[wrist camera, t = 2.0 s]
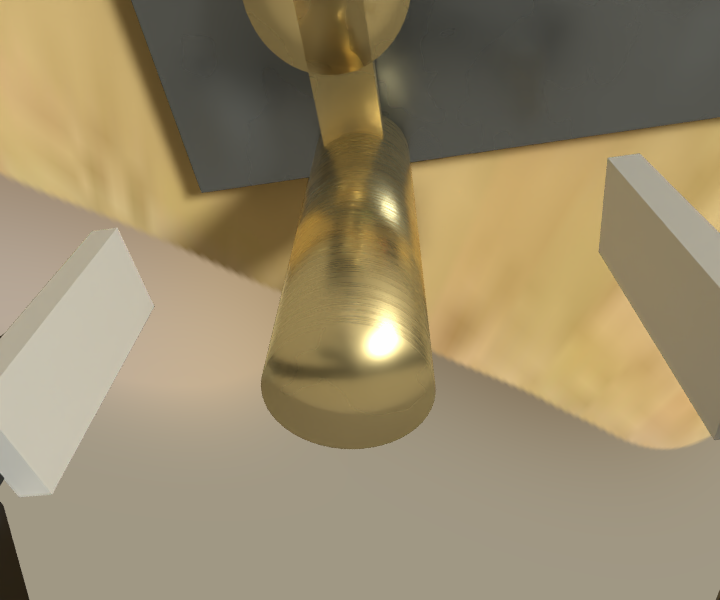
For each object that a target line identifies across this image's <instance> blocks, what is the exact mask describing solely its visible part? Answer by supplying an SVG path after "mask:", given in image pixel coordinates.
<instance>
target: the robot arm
mask: <svg viewBox="0 0 720 600" xmlns="http://www.w3.org/2000/svg"><path fill="white" fill-rule="evenodd" d="M599 253H600V255H601V256H602V258H603V260H604V261H605V263H606V265H607V266H608V268H609V269H610V271H611V273H612V274H613V276H614V278H615V279H616V281H617V282H618V284H619V286H620V287H621V289H622V291H623V292H624V294H625V296H626V297H627V299H628V300H629V302H630V304H631V305H632V307H633V309H634V310H635V312H636V313H637V315H638V317H639V318H640V320H641V322H642V323H643V325H644V327H645V328H646V330H647V331H648V333H649V335H650V336H651V338H652V340H653V341H654V343H655V344H656V346H657V348H658V349H659V351H660V353H661V354H662V356H663V358H664V359H665V361H666V362H667V364H668V366H669V367H670V369H671V371H672V372H673V374H674V375H675V377H676V379H677V380H678V382H679V384H680V385H681V387H682V389H683V390H684V392H685V393H686V395H687V397H688V398H689V400H690V402H691V403H692V405H693V406H694V408H695V410H696V411H697V413H698V415H699V416H700V418H701V419H702V421H703V423H704V424H705V426H706V428H707V429H708V431H709V433H710V434H711V436H712V437H713V439H714V440H720V233H719V232H718V231H717V230H716V229H715V228H714V227H713V226H712V225H711V224H710V223H709V222H708V221H707V220H706V219H705V218H704V217H703V216H702V215H701V214H700V213H699V212H698V211H697V210H696V209H695V208H694V207H693V206H692V205H691V204H690V203H689V202H688V201H687V200H686V199H685V198H684V197H683V196H682V195H681V194H680V193H679V192H678V191H677V190H676V189H675V188H674V187H673V186H672V185H671V184H670V183H669V182H668V181H667V180H666V179H665V178H664V177H663V176H662V175H661V174H660V173H659V172H658V171H657V170H656V169H655V168H654V167H653V166H652V165H651V164H650V163H649V162H648V161H647V160H646V159H645V158H644V157H643V156H642V155H641V154H640V153H639V154H632V155H625V156H618V157H611V158H608V159H607V169H606V180H605V190H604V201H603V211H602V222H601V232H600V243H599ZM153 308H154V304H153V302H152V300H151V298H150V295H149V293H148V291H147V289H146V287H145V285H144V283H143V281H142V279H141V277H140V274H139V272H138V270H137V268H136V266H135V264H134V262H133V260H132V258H131V255H130V253H129V251H128V249H127V247H126V245H125V243H124V241H123V238H122V236H121V234H120V232H119V230H118V228H110V229H103V230H97V231H92V232H91V233H90V234H89V235H88V236H87V237H86V238H85V240H84V241H83V242H82V243H81V244H80V246H79V247H78V248H77V249H76V250H75V251H74V253H73V254H72V255H71V256H70V257H69V258H68V260H67V261H66V262H65V263H64V264H63V266H62V267H61V268H60V269H59V270H58V271H57V272H56V274H55V275H54V276H53V277H52V278H51V280H50V281H49V282H48V283H47V284H46V286H45V287H44V288H43V289H42V290H41V291H40V292H39V294H38V295H37V296H36V297H35V298H34V299H33V301H32V302H31V303H30V304H29V305H28V307H27V308H26V309H25V310H24V311H23V312H22V314H21V315H20V316H19V317H18V318H17V320H16V321H15V322H14V323H13V324H12V325H11V326H10V328H9V329H8V330H7V331H6V332H5V333H4V334H3V335H2V336H0V485H1V483H2V482H3V480H5V482H6V483H7V484H8V485H9V486H10V487H11V489H12V490H13V491H14V492H15V493H16V494H17V496H18V497H27V496H39V495H51V494H53V492H54V490H55V488H56V486H57V485H58V483H59V481H60V479H61V477H62V475H63V474H64V472H65V470H66V468H67V466H68V464H69V463H70V461H71V459H72V457H73V455H74V453H75V452H76V450H77V448H78V446H79V444H80V442H81V441H82V439H83V437H84V435H85V433H86V431H87V429H88V428H89V426H90V424H91V422H92V420H93V418H94V416H95V415H96V413H97V411H98V409H99V407H100V406H101V404H102V402H103V400H104V398H105V396H106V395H107V393H108V391H109V389H110V387H111V385H112V384H113V382H114V380H115V378H116V376H117V374H118V372H119V371H120V369H121V367H122V365H123V363H124V362H125V360H126V358H127V356H128V354H129V352H130V351H131V349H132V347H133V345H134V343H135V341H136V340H137V338H138V336H139V334H140V332H141V330H142V329H143V327H144V325H145V323H146V321H147V319H148V318H149V316H150V314H151V312H152V310H153ZM0 600H29V597H28V593H27V589H26V586H25V582H24V579H23V575H22V572H21V568H20V564H19V560H18V557H17V553H16V550H15V546H14V542H13V539H12V535H11V531H10V528H9V524H8V521H7V517H6V513H5V510H4V506H3V505H2V503H1V502H0ZM716 600H720V591H719V593H718V596H717V598H716Z"/></svg>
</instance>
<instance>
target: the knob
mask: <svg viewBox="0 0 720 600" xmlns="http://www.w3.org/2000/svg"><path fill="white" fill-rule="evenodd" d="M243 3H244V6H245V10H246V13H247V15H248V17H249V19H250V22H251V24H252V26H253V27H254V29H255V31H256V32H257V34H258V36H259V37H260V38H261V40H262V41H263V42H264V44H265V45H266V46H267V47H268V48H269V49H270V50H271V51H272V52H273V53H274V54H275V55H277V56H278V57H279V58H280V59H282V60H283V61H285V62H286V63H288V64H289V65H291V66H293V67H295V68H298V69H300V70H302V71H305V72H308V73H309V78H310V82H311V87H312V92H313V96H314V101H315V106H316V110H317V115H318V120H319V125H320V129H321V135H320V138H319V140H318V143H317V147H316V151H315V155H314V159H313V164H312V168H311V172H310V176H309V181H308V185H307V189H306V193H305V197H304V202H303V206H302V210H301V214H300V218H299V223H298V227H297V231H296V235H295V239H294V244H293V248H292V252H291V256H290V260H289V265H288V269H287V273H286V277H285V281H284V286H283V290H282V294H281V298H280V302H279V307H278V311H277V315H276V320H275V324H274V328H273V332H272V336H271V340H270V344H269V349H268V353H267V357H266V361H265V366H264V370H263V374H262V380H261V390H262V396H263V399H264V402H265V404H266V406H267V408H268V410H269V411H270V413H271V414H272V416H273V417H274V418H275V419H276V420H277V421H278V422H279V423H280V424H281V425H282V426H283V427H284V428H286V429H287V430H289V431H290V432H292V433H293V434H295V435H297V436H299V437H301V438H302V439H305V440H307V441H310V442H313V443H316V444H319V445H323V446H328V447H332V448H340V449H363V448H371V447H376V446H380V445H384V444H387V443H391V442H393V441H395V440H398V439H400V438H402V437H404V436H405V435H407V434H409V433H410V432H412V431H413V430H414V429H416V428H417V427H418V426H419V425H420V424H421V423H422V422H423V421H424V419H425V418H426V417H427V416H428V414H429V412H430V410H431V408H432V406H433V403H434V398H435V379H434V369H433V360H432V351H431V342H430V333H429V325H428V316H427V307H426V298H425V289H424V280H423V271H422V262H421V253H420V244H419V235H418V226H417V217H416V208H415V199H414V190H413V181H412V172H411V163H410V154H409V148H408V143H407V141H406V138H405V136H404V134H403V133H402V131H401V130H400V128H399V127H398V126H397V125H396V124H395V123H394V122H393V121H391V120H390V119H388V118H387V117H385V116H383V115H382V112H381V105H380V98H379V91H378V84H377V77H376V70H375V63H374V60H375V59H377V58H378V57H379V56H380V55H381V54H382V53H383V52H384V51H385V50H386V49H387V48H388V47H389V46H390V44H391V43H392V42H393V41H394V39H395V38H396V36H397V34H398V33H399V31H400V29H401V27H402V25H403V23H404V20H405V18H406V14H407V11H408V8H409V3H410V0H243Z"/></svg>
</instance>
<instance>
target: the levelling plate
mask: <svg viewBox="0 0 720 600" xmlns="http://www.w3.org/2000/svg"><path fill="white" fill-rule="evenodd" d="M131 1H132V4H133V6H134V9H135V12H136V15H137V17H138V20H139V23H140V26H141V28H142V31H143V34H144V37H145V39H146V42H147V45H148V47H149V50H150V53H151V56H152V58H153V61H154V64H155V67H156V69H157V72H158V75H159V78H160V80H161V83H162V86H163V88H164V91H165V94H166V97H167V99H168V102H169V105H170V108H171V110H172V113H173V116H174V119H175V121H176V124H177V127H178V130H179V132H180V135H181V138H182V140H183V143H184V146H185V149H186V151H187V154H188V157H189V160H190V162H191V165H192V168H193V171H194V173H195V176H196V179H197V182H198V184H199V187H200V190H201V192H202V193H204V192H211V191H218V190H225V189H232V188H238V187H245V186H252V185H259V184H266V183H273V182H279V181H286V180H293V179H300V178H307V177H309V176H310V172H311V168H312V164H313V159H314V155H315V151H316V147H317V143H318V140H319V138H320V135H321V129H320V125H319V120H318V115H317V110H316V106H315V101H314V96H313V92H312V87H311V82H310V78H309V73H308V72H305V71H302V70H300V69H298V68H295V67H293V66H291V65H289V64H288V63H286V62H285V61H283V60H282V59H280V58H279V57H278V56H277V55H275V54H274V53H273V52H272V51H271V50H270V49H269V48H268V47H267V46H266V45H265V44H264V42H263V41H262V40H261V38H260V37H259V36H258V34H257V32H256V31H255V29H254V27H253V26H252V24H251V22H250V19H249V17H248V15H247V13H246V10H245V6H244V3H243V0H131ZM374 63H375V70H376V77H377V84H378V91H379V98H380V105H381V112H382V115H383V116H385V117H387V118H388V119H390V120H391V121H393V122H394V123H395V124H396V125H397V126H398V127H399V128H400V130H401V131H402V133H403V134H404V136H405V138H406V141H407V143H408V148H409V154H410V162H416V161H423V160H430V159H437V158H444V157H450V156H457V155H464V154H471V153H478V152H485V151H491V150H498V149H505V148H512V147H519V146H526V145H533V144H539V143H546V142H553V141H560V140H567V139H574V138H580V137H587V136H594V135H601V134H608V133H615V132H621V131H628V130H635V129H642V128H649V127H656V126H662V125H669V124H676V123H683V122H690V121H697V120H704V119H710V118H717V117H720V0H410V3H409V8H408V11H407V14H406V18H405V20H404V23H403V25H402V27H401V29H400V31H399V33H398V34H397V36H396V38H395V39H394V41H393V42H392V43H391V44H390V46H389V47H388V48H387V49H386V50H385V51H384V52H383V53H382V54H381V55H380V56H379V57H378V58H377V59H375V60H374Z"/></svg>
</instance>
